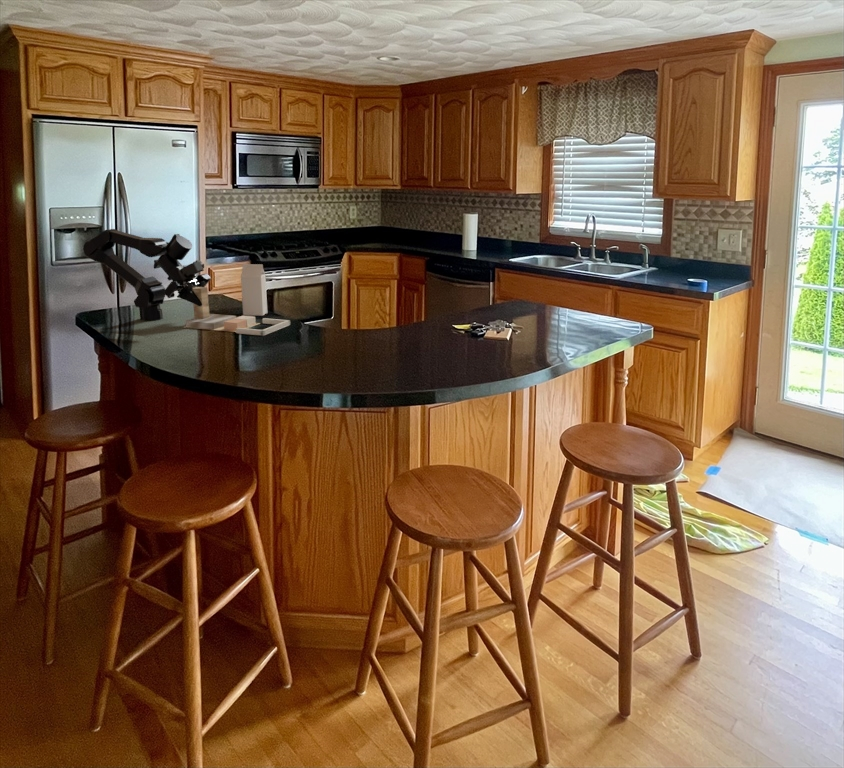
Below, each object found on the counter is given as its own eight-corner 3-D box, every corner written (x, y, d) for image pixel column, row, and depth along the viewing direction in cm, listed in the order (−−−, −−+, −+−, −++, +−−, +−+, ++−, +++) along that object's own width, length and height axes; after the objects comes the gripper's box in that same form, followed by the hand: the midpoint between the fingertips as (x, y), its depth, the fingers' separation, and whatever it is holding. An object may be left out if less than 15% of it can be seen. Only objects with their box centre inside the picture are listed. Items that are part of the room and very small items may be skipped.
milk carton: (263, 319, 266) (260, 265, 261) (243, 319, 266) (239, 265, 261) (267, 315, 273) (264, 263, 268) (248, 315, 273) (244, 262, 268)
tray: (236, 337, 239) (235, 328, 238) (264, 326, 255) (264, 318, 254) (263, 340, 236) (263, 330, 235) (290, 329, 251) (290, 320, 250)
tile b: (224, 329, 244) (223, 321, 243) (232, 326, 248) (232, 318, 247) (237, 330, 242) (237, 323, 241) (246, 327, 246) (245, 320, 246)
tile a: (234, 325, 249) (233, 318, 248) (242, 322, 253) (242, 315, 253) (247, 326, 247) (247, 319, 247) (255, 323, 252) (255, 316, 251)
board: (182, 331, 247) (182, 326, 247) (208, 323, 260) (207, 318, 260) (237, 336, 241) (237, 331, 240) (261, 327, 253) (260, 323, 253)
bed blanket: (186, 326, 247) (182, 290, 244) (209, 319, 259) (206, 284, 255) (214, 329, 244) (211, 292, 240) (236, 321, 255) (234, 286, 252)
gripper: (168, 256, 239) (201, 292, 238) (204, 249, 255) (234, 284, 255) (150, 279, 243) (182, 315, 243) (186, 271, 260) (216, 305, 260)
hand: (204, 304), depth 250 cm, fingers closed on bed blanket, 3 cm apart
